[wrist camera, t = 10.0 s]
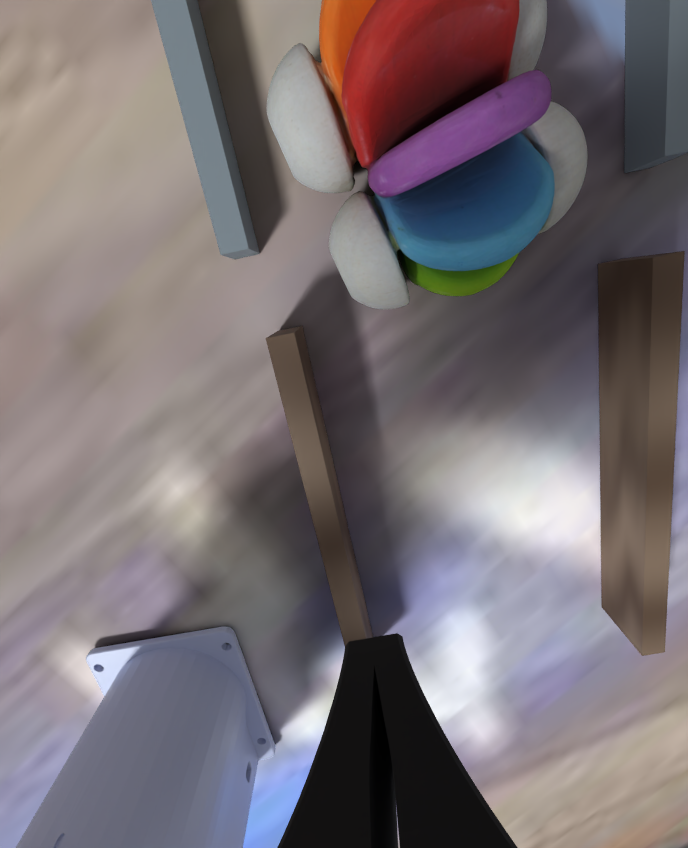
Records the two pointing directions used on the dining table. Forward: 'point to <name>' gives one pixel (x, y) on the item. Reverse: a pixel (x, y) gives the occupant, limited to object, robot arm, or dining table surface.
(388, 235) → the multicolored rounded disc cluster
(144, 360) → the dining table surface
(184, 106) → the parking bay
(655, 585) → the lane rails
